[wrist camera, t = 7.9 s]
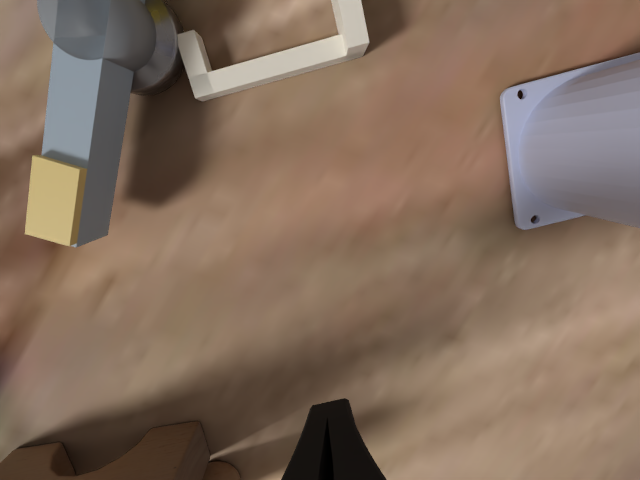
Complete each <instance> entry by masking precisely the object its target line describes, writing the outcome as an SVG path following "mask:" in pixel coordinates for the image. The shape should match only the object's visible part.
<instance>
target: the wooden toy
mask: <svg viewBox="0 0 640 480" xmlns="http://www.w3.org/2000/svg"><path fill="white" fill-rule="evenodd" d="M209 459H210V452H209V449H208V446H207V443H206V440H205V436H204V433H203V430H202V427H201V424H200V422H199V421H195V422H188V423H182V424H175V425H169V426H162V427H156V428H152V429H150V430H149V431H148V433H147V434H146V435H145V436H144V437H143V439H142V440H141V441H140V442H139V443H138V444H137V445H136V446H134V447H133V448H132V449H131V450H129V451H128V452H127V453H125V454H124V455H123V456H122V457H120V458H119V459H117V460H115V461H113V462H111V463H109V464H108V465H106V466H104V467H102V468H100V469H98V470H95V471H92V472H89V473H85V474H82V475H78V476H76V473H75V471H74V469H73V467H72V464H71V462H70V460H69V458H68V455H67V453H66V451H65V449H64V446H63V444H62V443H60V442H58V443H51V444H45V445H38V446H32V447H25V448H19V449H15V450H14V451H12V452H11V453H10V454H9V455H8V456H7V457H6V458H5V459H4V460H3V461H2V462H1V463H0V480H240V476H239V473H238V471H237V469H236V468H234V467H233V466H232V465H230V464H229V463H226V462H222V461H214V462H210V463H208V462H209Z"/></svg>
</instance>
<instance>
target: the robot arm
mask: <svg viewBox="0 0 640 480" xmlns="http://www.w3.org/2000/svg"><path fill="white" fill-rule="evenodd" d="M519 90H521V91H522V93H523V97H522V98H521V99H519V98H518V96H517V93H518V91H519ZM500 103H501V112H502V120H503V128H504V137H505V145H506V153H507V162H508V170H509V178H510V187H511V195H512V203H513V212H514V220H515V225H516V226H517V227H518V228H520V229H523V230H528V229H532V228H536V227H540V226H544V225H548V224H552V223H556V222H561V221H565V220H569V219H573V218H577V217H581V216H585V215H587V216H591V217H595V218H600V219H604V220H608V221H612V222H616V223H620V224H625V225H629V226H633V227H637V228H640V52H639V53H636V54H632V55H628V56H624V57H621V58H617V59H613V60H610V61H606V62H602V63H598V64H595V65H591V66H587V67H583V68H580V69H576V70H572V71H569V72H565V73H561V74H557V75H554V76H550V77H546V78H543V79H539V80H535V81H531V82H528V83H524V84H520V85H517V86H513V87H509V88H507V89H505V90H504V91H503V92H502V94H501V96H500ZM534 215H535V216H536V219H535V221H534V222H532V223H531V218H532V216H534ZM281 480H386V478H385V477H384V475H383V474H382V472H381V471H380V469H379V468H378V466H377V464H376V463H375V461H374V459H373V458H372V456H371V454H370V453H369V451H368V449H367V447H366V445H365V444H364V442H363V440H362V438H361V436H360V434H359V432H358V429H357V427H356V425H355V421H354V418H353V414H352V410H351V407H350V403H349V400H347V399H345V398H344V399H340V400H335V401H331V402H326V403H322V404H317V405H313V406H312V407H311V408H310V411H309V414H308V417H307V420H306V423H305V426H304V429H303V431H302V434H301V437H300V439H299V442H298V444H297V446H296V449H295V451H294V454H293V456H292V458H291V460H290V462H289V465H288V467H287V469H286V471H285V473H284V475H283V477H282V479H281Z"/></svg>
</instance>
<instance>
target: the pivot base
mask: <svg viewBox="0 0 640 480" xmlns="http://www.w3.org/2000/svg"><path fill="white" fill-rule="evenodd" d="M145 6H146V7H147V8H148V10H149V12H150V13H151V16H152V18H153V20H154V23H155V28H156V46H155V50H154V53H153V55H152V57H151V58H150V60H149V61H148V62H147V64H146V65H145V66H143V67H142V68H141V69H139V70H137V71H135V72H134V74H133V80H132V86H131V93H132V94H137V95H153V94H158V93H160V92H163V91H164V90H166V89H168V88H169V87H171V86H172V85H173V84H174V83H175V82H176V81H177V79H178V78H179V76H180V75H181V73H182V71H183V68H184V63H183V60H182V57H181V54H180V50H179V47H178V36H177V34H181V33H184V30H183V27H182V25H181V23H180V21H179V19H178V17H177V16H176V14H175V13H174V12H173V10H172V9H171V8H170V7H169V6H168V5H167V4H166V3H165V2H164V1H163V0H145Z"/></svg>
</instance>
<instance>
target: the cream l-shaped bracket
mask: <svg viewBox="0 0 640 480" xmlns="http://www.w3.org/2000/svg"><path fill="white" fill-rule="evenodd" d="M331 2H332V7H333V11H334V16H335V20H336V25H337V30H338V34H339V35H337V36H333V37H330V38H326V39H323V40H319V41H316V42H312V43H309V44H305V45H302V46H298V47H295V48H291V49H288V50H284V51H281V52H277V53H274V54H270V55H267V56H263V57H260V58H256V59H253V60H249V61H246V62H242V63H239V64H235V65H232V66H228V67H225V68H221V69H218V70H214V71H212V69H211V66H210V63H209V59H208V56H207V53H206V50H205V46H204V43H203V40H202V37H201V36H200V35H199V34H198V33H197V32H196V31H195V30H191V31H188V32H184V33H181V34H177V36H178V47H179V50H180V54H181V57H182V60H183V63H184V66H185V69H186V72H187V75H188V78H189V81H190V84H191V87H192V90H193V93H194V97H195V99H198V100H200V101H206V100H210V99H214V98H217V97H221V96H224V95H228V94H231V93H235V92H238V91H242V90H246V89H249V88H253V87H256V86H260V85H263V84H267V83H270V82H274V81H278V80H281V79H285V78H288V77H292V76H295V75H299V74H302V73H306V72H310V71H313V70H317V69H320V68H324V67H327V66H331V65H334V64H338V63H342V62H345V61H349V60H352V59H356V58H359V57H363V55H364V53H365V51H366V49H367V46H368V44H369V38H368V33H367V28H366V23H365V18H364V13H363V8H362V3H361V0H331Z"/></svg>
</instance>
